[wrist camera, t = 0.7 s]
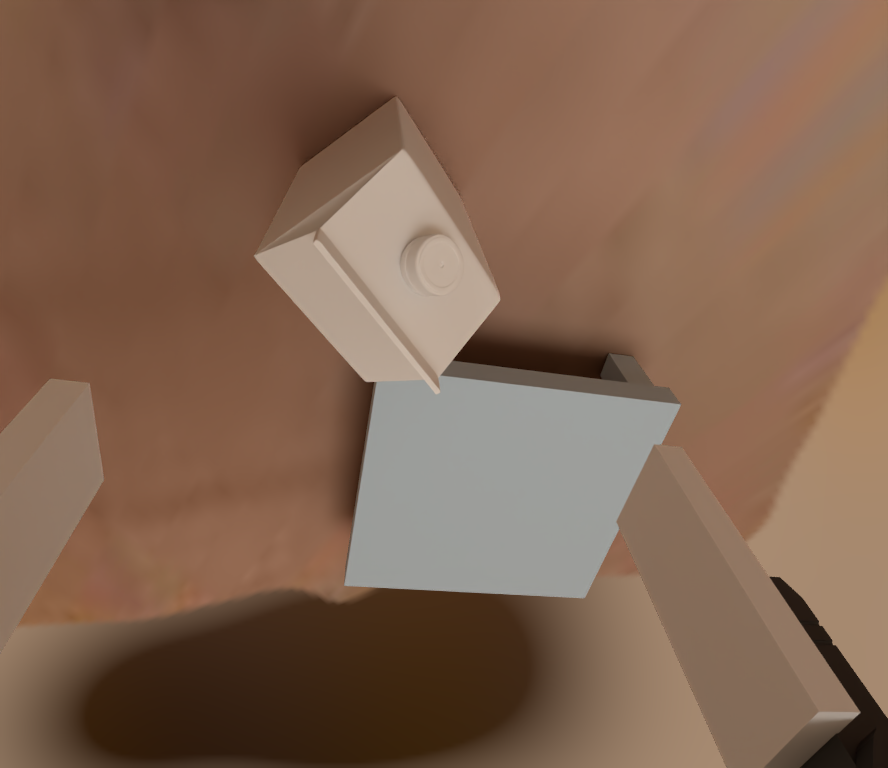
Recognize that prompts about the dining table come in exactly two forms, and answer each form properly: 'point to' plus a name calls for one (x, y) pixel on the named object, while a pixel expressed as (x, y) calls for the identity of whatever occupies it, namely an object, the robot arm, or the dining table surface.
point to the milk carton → (381, 252)
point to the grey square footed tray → (501, 477)
